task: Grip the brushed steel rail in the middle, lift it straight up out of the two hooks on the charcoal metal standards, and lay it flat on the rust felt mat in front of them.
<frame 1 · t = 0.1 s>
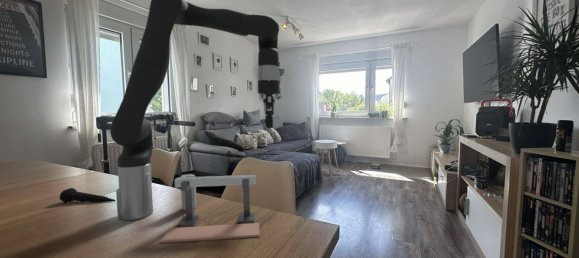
hand: (269, 126, 85), 29 cm above the table, tool pointing down, fingers open, 8 cm apart
felt mat: (213, 233, 69), on the table
steel rail: (216, 184, 75), point 12 cm above the table, touching hook standards
microphone: (86, 203, 93), on the table
hook standards: (217, 221, 76), on the table
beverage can: (189, 209, 87), on the table
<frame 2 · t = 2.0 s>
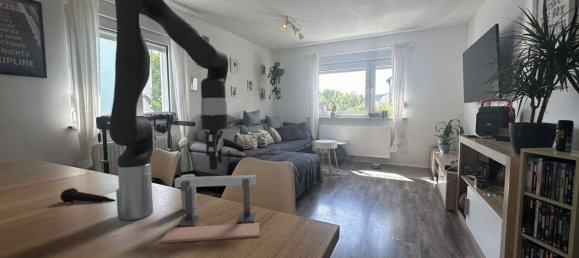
hand: (216, 165, 75), 18 cm above the table, tool pointing down, fingers open, 8 cm apart
nothing on the table moved.
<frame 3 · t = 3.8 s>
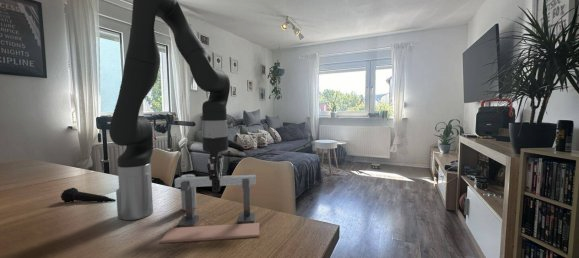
hand: (216, 190, 75), 10 cm above the table, tool pointing down, fingers closed on steel rail, 2 cm apart
steel rail: (216, 184, 75), point 12 cm above the table, touching gripper, hook standards
everything else where it was.
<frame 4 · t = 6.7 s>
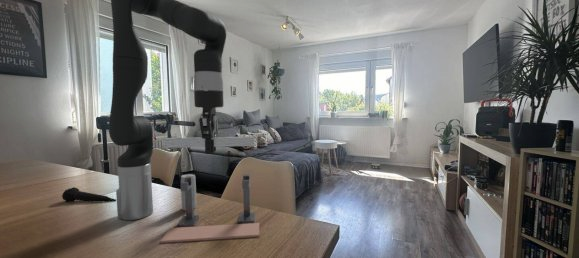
hand: (210, 152, 67), 23 cm above the table, tool pointing down, fingers closed on steel rail, 2 cm apart
steel rail: (210, 146, 67), point 25 cm above the table, touching gripper
everything else where it was.
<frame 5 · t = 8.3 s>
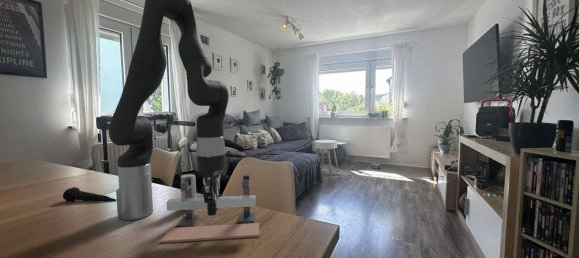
hand: (212, 212, 69), 6 cm above the table, tool pointing down, fingers closed on steel rail, 2 cm apart
steel rail: (213, 206, 69), point 8 cm above the table, touching gripper
everything else where it was.
when the fingers open (2 cm above the table, at t = 9.5 s): steel rail drops 3 cm, resting on felt mat.
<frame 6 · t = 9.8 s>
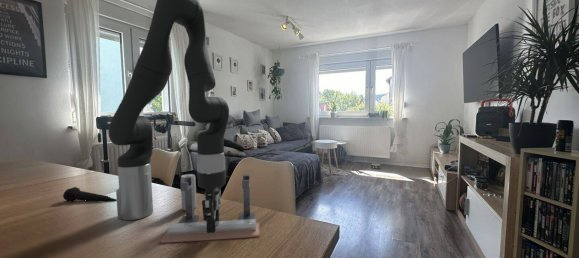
hand: (213, 226, 69), 2 cm above the table, tool pointing down, fingers open, 5 cm apart
steel rail: (213, 231, 69), point 1 cm above the table, touching felt mat
everything else where it was.
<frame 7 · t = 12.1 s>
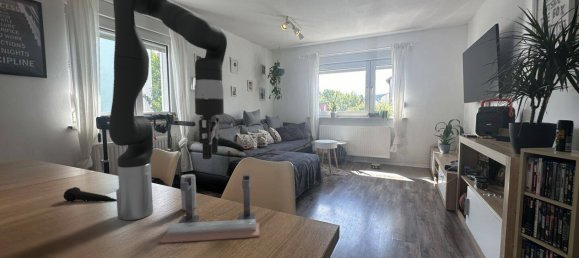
hand: (210, 155, 68), 22 cm above the table, tool pointing down, fingers open, 8 cm apart
nothing on the table moved.
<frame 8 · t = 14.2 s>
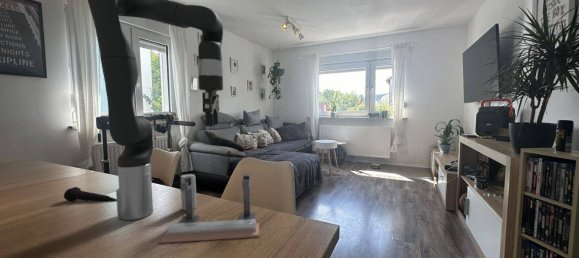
hand: (212, 125, 79), 30 cm above the table, tool pointing down, fingers open, 8 cm apart
at the end: steel rail inside the target area (0.1 cm from its centre), point 0.6 cm above the table; steel rail tilted 0°; the gripper is holding nothing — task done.
